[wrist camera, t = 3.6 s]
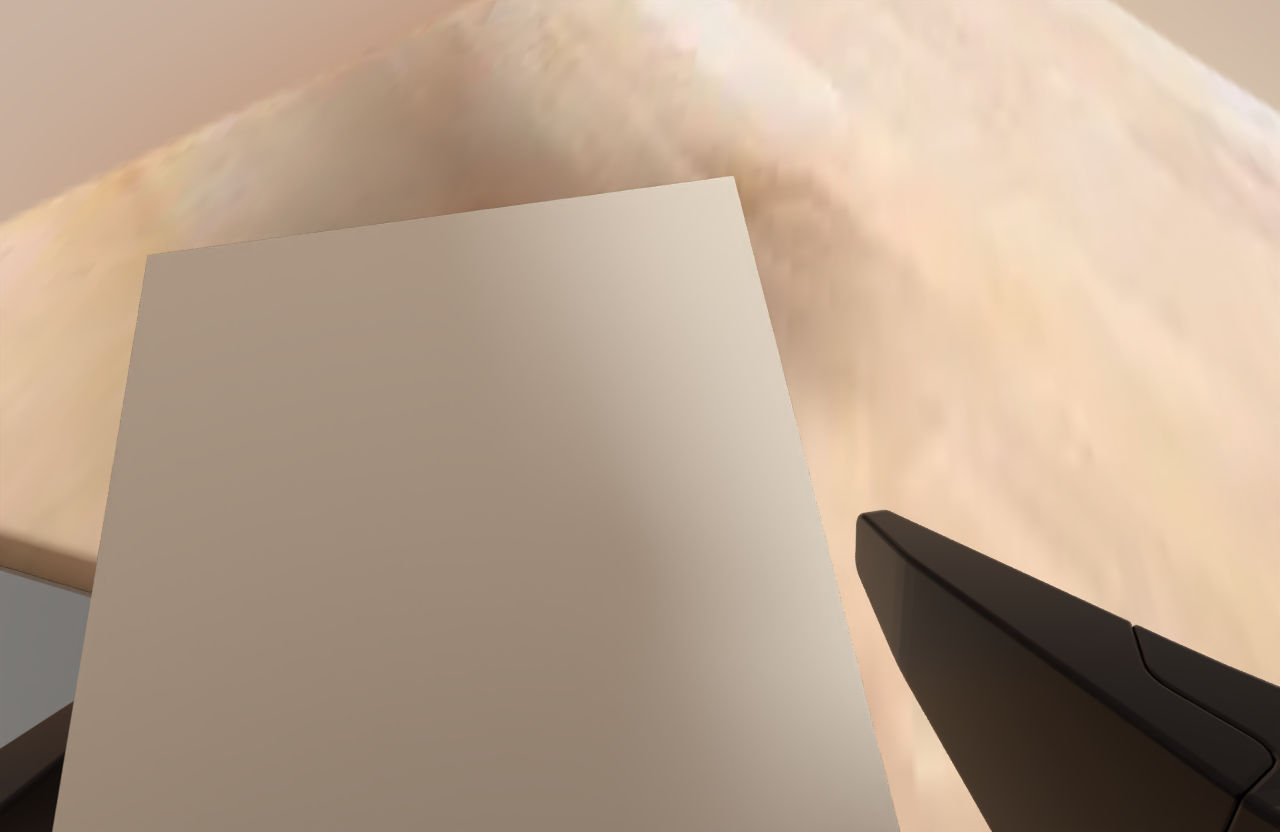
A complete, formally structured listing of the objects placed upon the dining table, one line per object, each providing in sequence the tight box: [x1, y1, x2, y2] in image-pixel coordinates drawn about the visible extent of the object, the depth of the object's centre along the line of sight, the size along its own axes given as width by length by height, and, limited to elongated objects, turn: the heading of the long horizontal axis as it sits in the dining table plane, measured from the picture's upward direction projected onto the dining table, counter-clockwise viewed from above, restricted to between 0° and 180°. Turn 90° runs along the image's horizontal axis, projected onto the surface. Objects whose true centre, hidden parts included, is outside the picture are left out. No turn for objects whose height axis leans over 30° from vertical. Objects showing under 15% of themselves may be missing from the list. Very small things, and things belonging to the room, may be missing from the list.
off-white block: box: [52, 176, 900, 832], centre depth 10 cm, size 5×5×13 cm
